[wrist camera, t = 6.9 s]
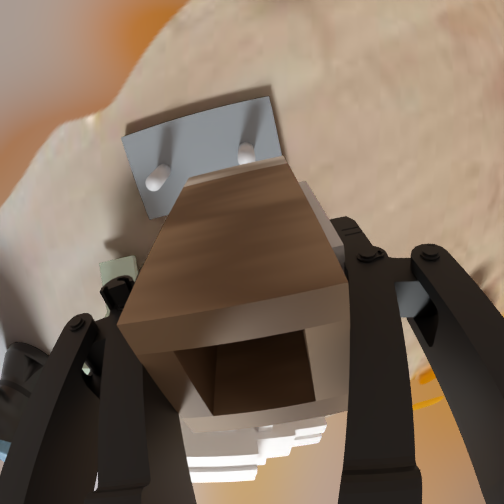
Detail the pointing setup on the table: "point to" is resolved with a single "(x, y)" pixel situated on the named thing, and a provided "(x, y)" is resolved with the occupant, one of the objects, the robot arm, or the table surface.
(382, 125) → the table surface
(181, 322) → the sleeve
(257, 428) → the white voxel figure
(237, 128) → the pinboard
